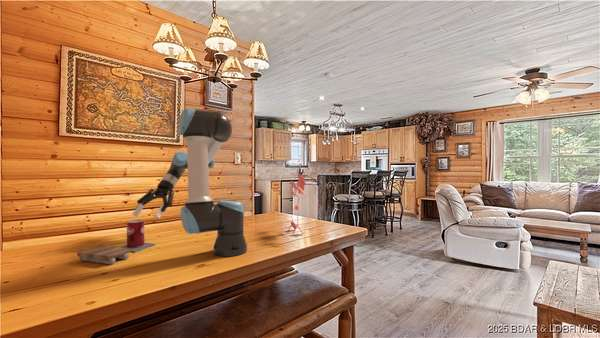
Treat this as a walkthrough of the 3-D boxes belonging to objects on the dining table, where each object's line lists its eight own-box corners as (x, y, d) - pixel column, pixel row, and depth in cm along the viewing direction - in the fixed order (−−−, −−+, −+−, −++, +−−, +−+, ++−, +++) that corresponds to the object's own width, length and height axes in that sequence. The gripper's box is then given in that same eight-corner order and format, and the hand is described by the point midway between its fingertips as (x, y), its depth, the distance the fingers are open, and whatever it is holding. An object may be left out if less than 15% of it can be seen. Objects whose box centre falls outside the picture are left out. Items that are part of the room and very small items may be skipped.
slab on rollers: (130, 257, 115) (130, 248, 115) (108, 266, 105) (108, 256, 105) (101, 254, 119) (101, 245, 119) (77, 261, 109) (77, 252, 109)
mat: (155, 244, 133) (155, 243, 133) (134, 252, 122) (134, 251, 122) (136, 242, 136) (136, 241, 136) (114, 250, 125) (114, 248, 125)
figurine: (295, 238, 147) (297, 174, 146) (282, 228, 171) (284, 172, 171) (321, 237, 152) (323, 174, 151) (305, 227, 176) (307, 173, 176)
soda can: (128, 249, 124) (128, 223, 124) (125, 245, 129) (125, 220, 129) (146, 246, 129) (146, 221, 128) (142, 242, 134) (142, 218, 134)
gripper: (190, 188, 149) (170, 221, 135) (152, 187, 155) (130, 218, 141) (183, 179, 144) (162, 212, 129) (145, 179, 150) (121, 210, 136)
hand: (145, 216), depth 135 cm, fingers open, 13 cm apart
